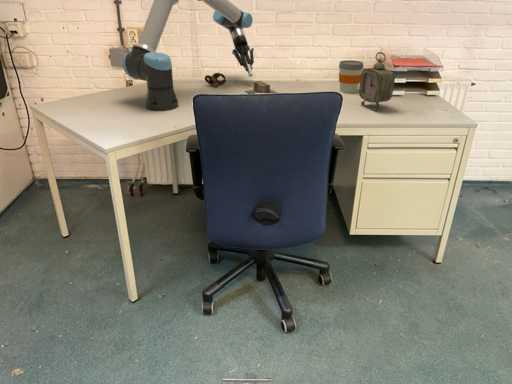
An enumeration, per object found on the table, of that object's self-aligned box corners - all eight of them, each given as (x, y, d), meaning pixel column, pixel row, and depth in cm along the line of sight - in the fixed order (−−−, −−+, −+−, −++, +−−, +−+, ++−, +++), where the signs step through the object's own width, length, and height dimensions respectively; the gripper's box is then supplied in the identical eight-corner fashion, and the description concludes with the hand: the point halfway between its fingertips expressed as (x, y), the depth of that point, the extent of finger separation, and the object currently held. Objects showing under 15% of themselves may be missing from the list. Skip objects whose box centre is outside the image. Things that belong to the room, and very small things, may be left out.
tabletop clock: (357, 104, 195) (363, 50, 183) (372, 102, 198) (380, 49, 186) (374, 112, 183) (383, 55, 171) (391, 110, 186) (401, 54, 174)
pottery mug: (224, 84, 232) (227, 73, 225) (223, 95, 226) (226, 84, 219) (203, 79, 229) (206, 67, 223) (201, 90, 224) (204, 78, 217)
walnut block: (253, 89, 217) (261, 94, 208) (253, 81, 215) (262, 85, 206) (260, 89, 219) (269, 93, 210) (260, 80, 216) (269, 85, 208)
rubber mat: (253, 96, 207) (253, 95, 206) (245, 91, 215) (245, 90, 215) (277, 93, 212) (277, 92, 212) (268, 89, 221) (268, 88, 220)
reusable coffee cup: (335, 93, 214) (338, 63, 207) (337, 87, 225) (340, 59, 218) (359, 94, 211) (363, 65, 204) (360, 89, 222) (363, 61, 215)
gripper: (248, 43, 233) (259, 78, 227) (226, 44, 228) (238, 80, 223) (251, 34, 226) (263, 70, 221) (230, 35, 221) (241, 72, 216)
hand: (251, 75), depth 222 cm, fingers closed
